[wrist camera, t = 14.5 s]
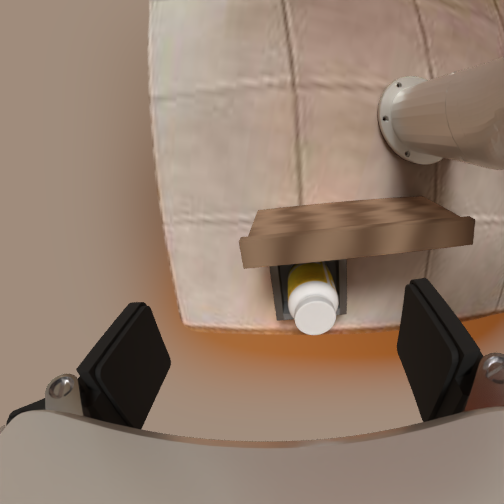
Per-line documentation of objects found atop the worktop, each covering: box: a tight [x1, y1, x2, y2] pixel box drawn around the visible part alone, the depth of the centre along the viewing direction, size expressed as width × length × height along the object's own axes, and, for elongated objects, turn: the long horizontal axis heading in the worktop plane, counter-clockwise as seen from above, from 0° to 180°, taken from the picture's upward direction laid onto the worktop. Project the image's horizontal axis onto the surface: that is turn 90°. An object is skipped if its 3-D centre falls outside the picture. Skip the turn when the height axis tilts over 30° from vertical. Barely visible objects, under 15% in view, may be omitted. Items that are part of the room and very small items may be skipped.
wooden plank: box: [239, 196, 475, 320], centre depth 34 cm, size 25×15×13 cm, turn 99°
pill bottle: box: [288, 261, 339, 335], centre depth 36 cm, size 6×6×11 cm
